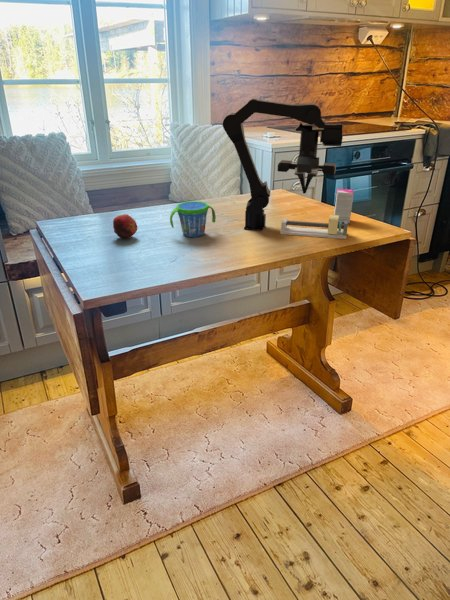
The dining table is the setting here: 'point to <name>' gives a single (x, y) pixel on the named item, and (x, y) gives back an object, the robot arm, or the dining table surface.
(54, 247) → the dining table surface
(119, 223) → the fruit
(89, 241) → the dining table surface
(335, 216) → the sleeve
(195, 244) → the dining table surface
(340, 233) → the linear slide rail
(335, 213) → the supplement box
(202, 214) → the snack cup
